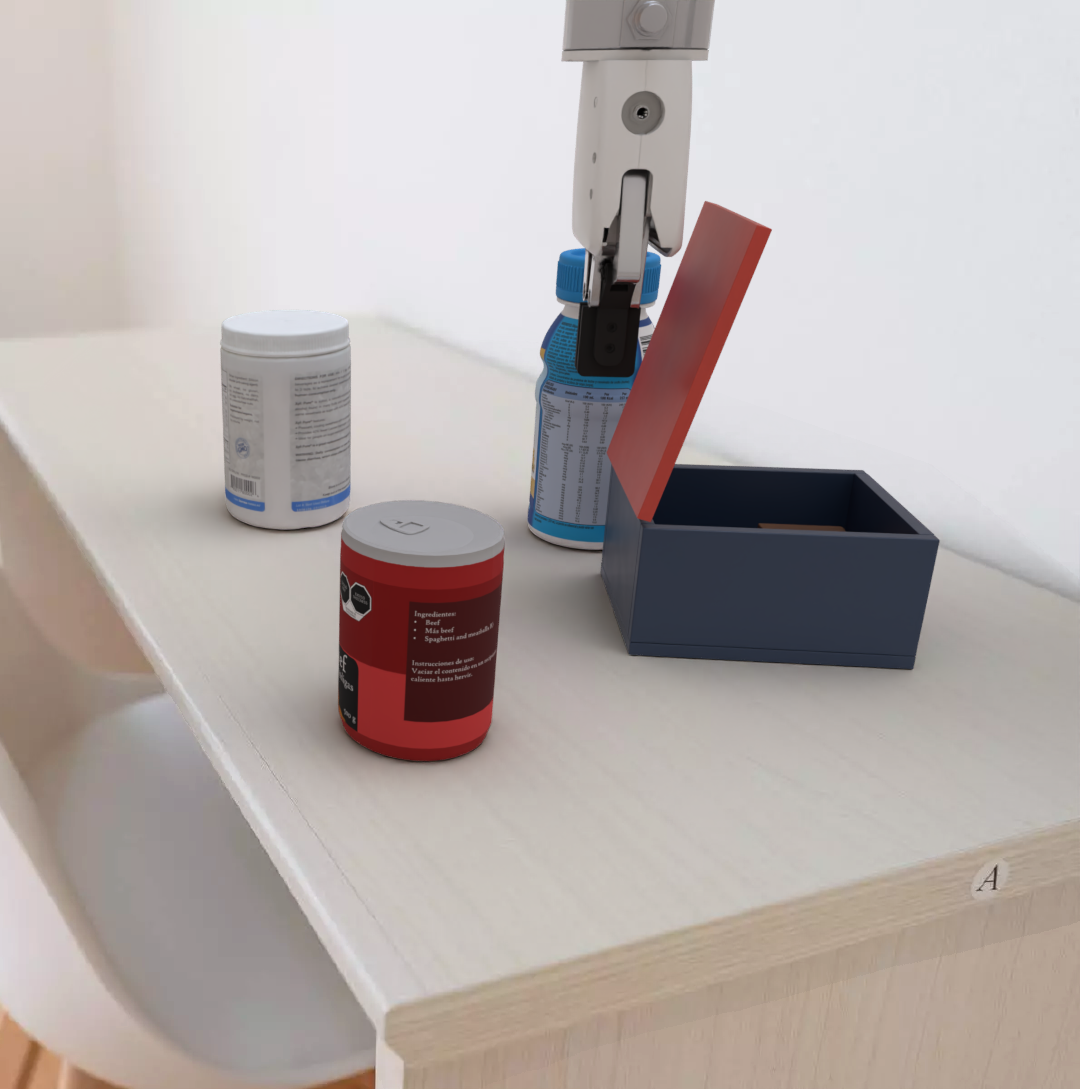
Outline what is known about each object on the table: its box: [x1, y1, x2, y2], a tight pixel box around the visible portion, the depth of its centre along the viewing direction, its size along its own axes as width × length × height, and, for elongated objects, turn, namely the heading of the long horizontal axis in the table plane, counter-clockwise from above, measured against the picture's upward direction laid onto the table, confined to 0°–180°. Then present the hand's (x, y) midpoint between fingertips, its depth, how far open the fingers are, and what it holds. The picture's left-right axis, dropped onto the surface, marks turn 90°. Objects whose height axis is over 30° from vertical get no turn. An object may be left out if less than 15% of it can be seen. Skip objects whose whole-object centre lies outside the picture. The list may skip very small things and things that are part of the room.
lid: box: [607, 200, 773, 522], centre depth 71 cm, size 16×13×1 cm
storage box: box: [599, 463, 941, 670], centre depth 74 cm, size 16×13×8 cm
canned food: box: [337, 499, 506, 762], centre depth 61 cm, size 8×8×11 cm
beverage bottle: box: [526, 247, 662, 551], centre depth 86 cm, size 8×8×20 cm
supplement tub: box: [219, 309, 352, 531], centre depth 91 cm, size 10×10×15 cm
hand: (603, 373), depth 72 cm, fingers closed
